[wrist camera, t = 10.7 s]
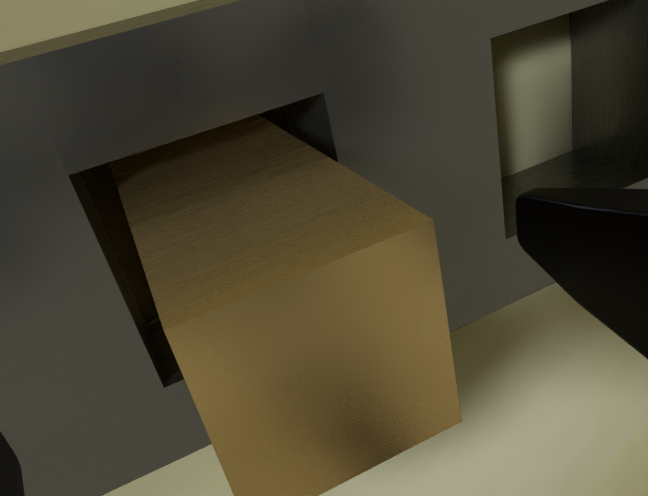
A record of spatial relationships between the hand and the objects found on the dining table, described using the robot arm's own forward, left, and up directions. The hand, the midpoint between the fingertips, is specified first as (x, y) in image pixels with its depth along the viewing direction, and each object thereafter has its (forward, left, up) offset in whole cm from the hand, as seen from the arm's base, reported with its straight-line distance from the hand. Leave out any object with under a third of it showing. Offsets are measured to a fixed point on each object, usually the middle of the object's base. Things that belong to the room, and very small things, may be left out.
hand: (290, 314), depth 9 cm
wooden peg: (0, 0, -6) cm, 6 cm away
